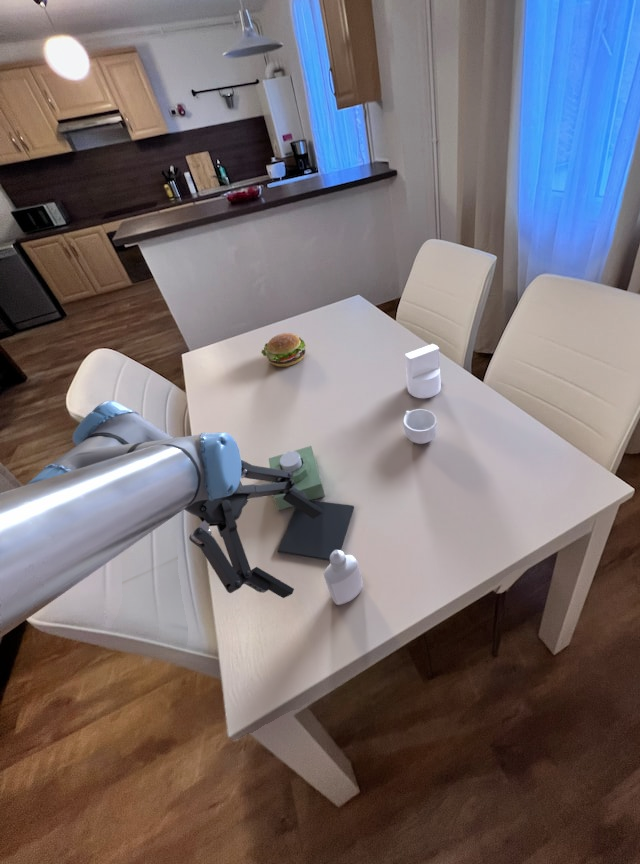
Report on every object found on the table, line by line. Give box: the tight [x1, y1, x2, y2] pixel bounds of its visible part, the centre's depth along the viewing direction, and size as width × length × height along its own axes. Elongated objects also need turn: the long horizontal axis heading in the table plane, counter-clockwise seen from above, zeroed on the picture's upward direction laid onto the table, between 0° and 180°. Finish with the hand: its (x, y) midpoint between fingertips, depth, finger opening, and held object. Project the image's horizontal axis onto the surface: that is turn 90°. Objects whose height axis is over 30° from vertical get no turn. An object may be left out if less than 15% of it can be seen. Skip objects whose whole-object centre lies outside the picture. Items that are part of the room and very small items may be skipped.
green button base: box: [268, 445, 326, 511], centre depth 88 cm, size 12×10×6 cm
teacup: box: [402, 408, 438, 445], centre depth 95 cm, size 10×8×5 cm
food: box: [261, 332, 307, 368], centre depth 132 cm, size 14×14×8 cm
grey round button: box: [280, 450, 302, 473], centre depth 86 cm, size 4×4×2 cm
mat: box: [276, 500, 355, 562], centre depth 79 cm, size 12×12×1 cm
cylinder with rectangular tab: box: [404, 343, 442, 399], centre depth 107 cm, size 9×9×12 cm
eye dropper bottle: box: [323, 549, 364, 606], centre depth 65 cm, size 4×6×12 cm
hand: (304, 550), depth 64 cm, fingers open, 13 cm apart
